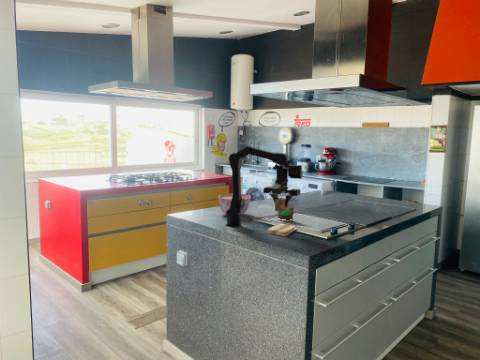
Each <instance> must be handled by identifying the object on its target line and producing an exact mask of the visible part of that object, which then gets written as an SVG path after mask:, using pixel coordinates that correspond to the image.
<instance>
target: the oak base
mask: <svg viewBox="0 0 480 360" xmlns="http://www.w3.org/2000/svg"><path fill="white" fill-rule="evenodd" d="M295 226H296V225H293V226H292V225H291V224H286V223H276V224H275V225H272V226H271V227H269V228H267V231H266V233H267V234H271V235H277V236H282V237H288V235H289V234H292V233H293V232H294V231H295V230H294V228H295Z"/></svg>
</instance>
